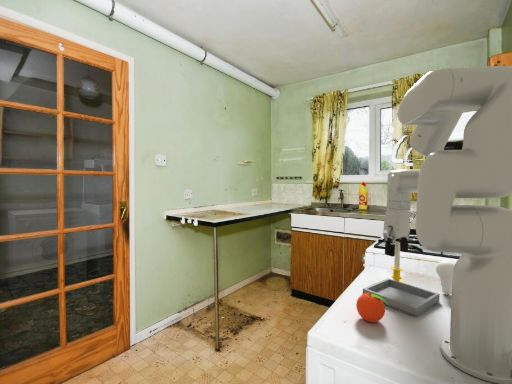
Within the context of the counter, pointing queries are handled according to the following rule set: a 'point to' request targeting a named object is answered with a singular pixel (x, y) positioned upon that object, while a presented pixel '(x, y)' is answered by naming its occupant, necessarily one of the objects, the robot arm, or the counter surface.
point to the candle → (397, 263)
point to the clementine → (371, 307)
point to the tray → (404, 296)
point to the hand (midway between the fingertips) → (396, 253)
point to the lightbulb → (445, 275)
